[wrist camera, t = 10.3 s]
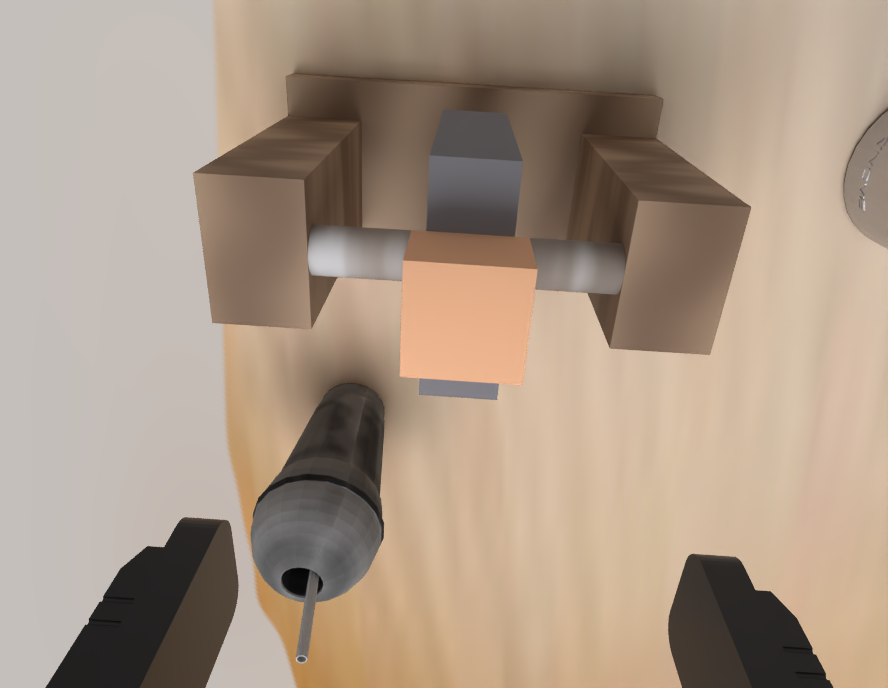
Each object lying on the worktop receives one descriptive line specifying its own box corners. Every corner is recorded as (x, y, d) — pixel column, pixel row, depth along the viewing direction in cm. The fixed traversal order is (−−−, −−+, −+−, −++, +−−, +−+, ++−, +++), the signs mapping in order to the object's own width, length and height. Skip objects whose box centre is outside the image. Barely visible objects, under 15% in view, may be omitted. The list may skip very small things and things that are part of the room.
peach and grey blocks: (517, 114, 30) (548, 184, 18) (499, 290, 34) (514, 447, 22) (432, 108, 30) (405, 175, 18) (424, 285, 34) (398, 439, 22)
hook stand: (656, 95, 35) (767, 149, 22) (623, 267, 40) (698, 397, 27) (292, 73, 35) (185, 114, 22) (302, 246, 40) (218, 366, 27)
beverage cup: (283, 386, 45) (160, 632, 27) (376, 351, 43) (310, 589, 26) (331, 463, 48) (249, 730, 30) (420, 434, 46) (388, 697, 29)
